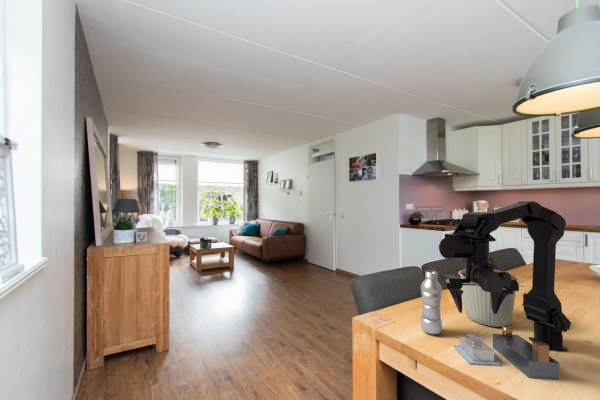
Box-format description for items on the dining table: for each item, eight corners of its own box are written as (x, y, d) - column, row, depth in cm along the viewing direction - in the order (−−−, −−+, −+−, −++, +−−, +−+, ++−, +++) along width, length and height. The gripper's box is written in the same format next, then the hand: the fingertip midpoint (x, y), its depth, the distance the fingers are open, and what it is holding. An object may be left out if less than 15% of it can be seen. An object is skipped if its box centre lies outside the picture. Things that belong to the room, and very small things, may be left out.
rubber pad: (453, 346, 81) (453, 345, 81) (481, 347, 80) (481, 346, 80) (469, 364, 72) (469, 362, 72) (501, 365, 71) (501, 364, 71)
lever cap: (459, 347, 79) (459, 332, 79) (478, 347, 79) (478, 333, 79) (472, 361, 72) (472, 345, 72) (494, 362, 72) (494, 346, 72)
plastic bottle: (435, 327, 93) (435, 269, 93) (446, 337, 86) (446, 274, 86) (416, 327, 93) (416, 269, 93) (426, 337, 86) (426, 274, 86)
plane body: (492, 346, 80) (491, 319, 80) (517, 347, 80) (516, 320, 80) (528, 377, 66) (528, 344, 66) (559, 379, 66) (559, 346, 66)
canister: (514, 317, 101) (514, 261, 102) (524, 337, 86) (524, 271, 86) (458, 307, 111) (458, 256, 111) (458, 324, 95) (458, 264, 95)
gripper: (456, 263, 69) (457, 324, 69) (534, 264, 67) (535, 327, 67) (438, 254, 80) (438, 307, 80) (504, 255, 78) (505, 309, 78)
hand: (477, 313), depth 76 cm, fingers open, 9 cm apart
